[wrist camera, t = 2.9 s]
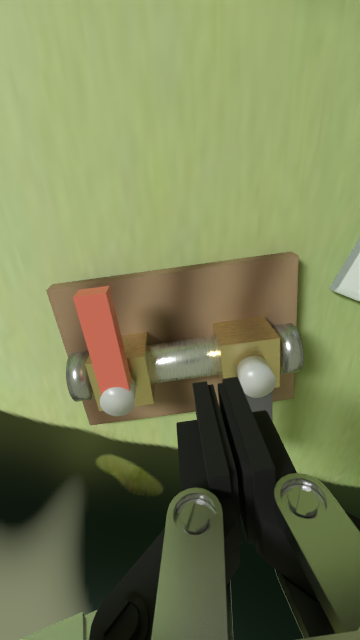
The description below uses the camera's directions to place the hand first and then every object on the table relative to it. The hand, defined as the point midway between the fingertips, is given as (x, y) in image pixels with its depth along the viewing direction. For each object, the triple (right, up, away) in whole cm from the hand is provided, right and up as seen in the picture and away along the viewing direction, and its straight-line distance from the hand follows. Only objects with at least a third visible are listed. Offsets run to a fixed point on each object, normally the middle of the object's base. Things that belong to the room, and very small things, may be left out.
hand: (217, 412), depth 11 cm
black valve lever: (+4, -3, +13) cm, 14 cm away
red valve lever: (-6, +1, +10) cm, 12 cm away
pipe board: (-1, +1, +17) cm, 17 cm away
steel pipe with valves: (-1, +1, +16) cm, 16 cm away
